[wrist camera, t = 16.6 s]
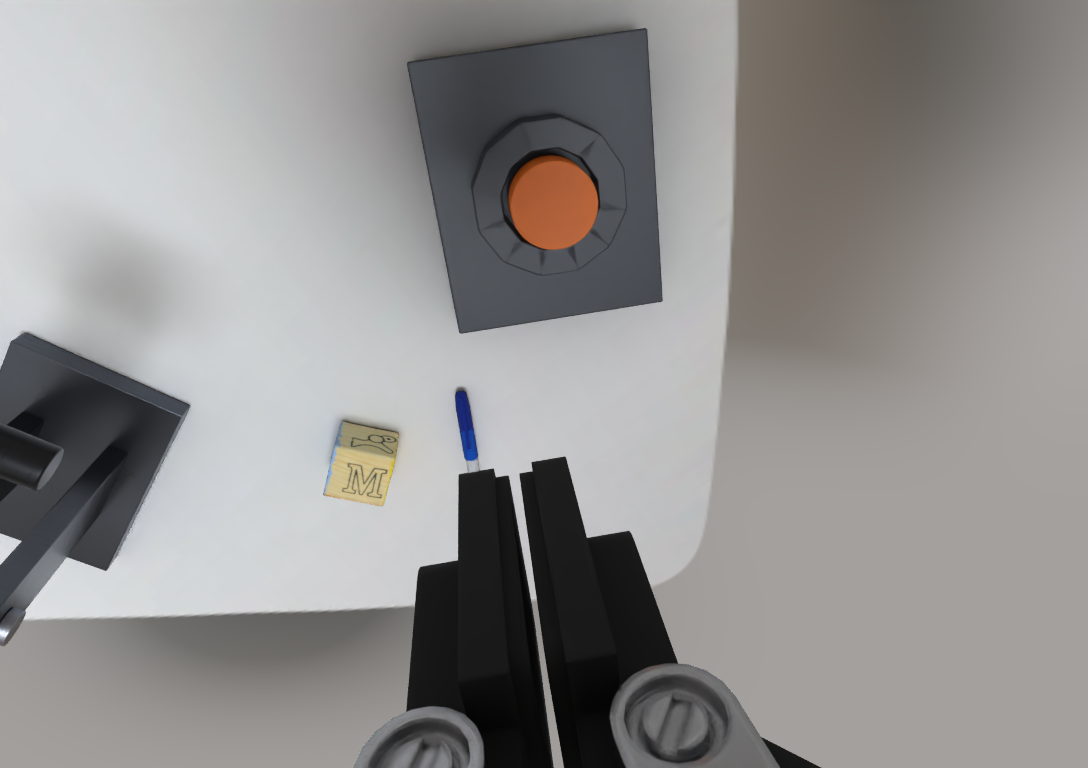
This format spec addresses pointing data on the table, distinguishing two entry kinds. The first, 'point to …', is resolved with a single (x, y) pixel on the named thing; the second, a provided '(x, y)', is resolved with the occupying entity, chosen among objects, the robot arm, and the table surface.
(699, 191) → the table surface
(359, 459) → the alphabet block
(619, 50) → the control block
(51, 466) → the lever
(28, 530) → the bracket
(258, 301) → the table surface
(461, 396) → the ballpoint pen
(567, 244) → the button
